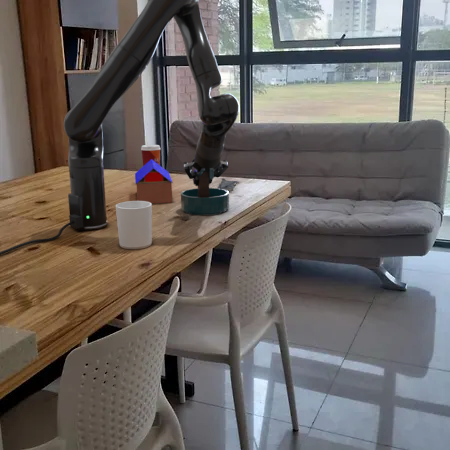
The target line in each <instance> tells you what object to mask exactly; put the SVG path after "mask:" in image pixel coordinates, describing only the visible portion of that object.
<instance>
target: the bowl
mask: <svg viewBox="0 0 450 450" xmlns="http://www.w3.org/2000/svg"><path fill="white" fill-rule="evenodd" d="M217 188H218V187H217ZM217 188H216V187H209V197H198V187H196V188H190V189H189V188H188V189H186V190H183V191H181V192H180V209H181V210H182V211H183V212H184V213H185V214H189V215H193V216H212V215H219V214H223V213H225V212H226V211H228V210H229V208H230V192H229V190H223V189H217Z"/></svg>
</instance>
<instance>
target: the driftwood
mask: <svg viewBox="0 0 450 450" xmlns="http://www.w3.org/2000/svg"><path fill="white" fill-rule="evenodd" d="M237 183H239V181H238V180H227V179H225V178H224V177H223V178H221V181H220V183H218V186H217V189H223V190H227V191H234V187H235V186H236V185H235V184H237Z"/></svg>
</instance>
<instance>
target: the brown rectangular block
mask: <svg viewBox="0 0 450 450" xmlns="http://www.w3.org/2000/svg"><path fill="white" fill-rule="evenodd" d="M197 188H198V197H209V188H210V185H209V172H203V174H202V176H200V178H199V183H198V186H197Z"/></svg>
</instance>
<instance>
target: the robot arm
mask: <svg viewBox="0 0 450 450" xmlns="http://www.w3.org/2000/svg"><path fill="white" fill-rule="evenodd" d="M172 19H174V21H175V24H177V27H178V29H179V32H180V34H181V37H182V41H183V45H184V50H185V55H186V59H187V63H188V67H189V69H190V72H191V73H190V74H191V76H192V78H193V80H194V85H195V89H196V97H197V111H198V116H199V119H200V121H201V123H202V124H201V127H200V131H199V132H200V133H199V136H198V139H197V142H196V149H195V153H194V158H193V159H191V162H188V161H184V162H183V164H182V165H183V169H184V172H185V173H186V174H187V177H188V179H189V180H192V183H193V185H194V186H195V187H198V183H199V178H200V176H202V174H203V172H209V186H210V185H211V184H212V183H213V179H214V178H220V177H221V176H222V175H223V174H224V172H226V171H227V170H228V168H229V164H228V161H227V159H223V160H222V155H223V152H224V148H225V141H226V137H227V133H228V132H229V131H230V130H231V128H232V126H233V125H234V124H235V122H236V121H237V119H238V116H239V113H240V104H239V101H238V99H237V98H236V96H234V95H233V94H231V93H222V94H219V95H215V96H211V95H210V93H211V91H212V90H214V89H215V88H217V87H218V86H220V85H221V84H222V82H223V78H222V74H221V71H220V69H219V66H218V63H217V59H216V57H215V54H214V51H213V49H212V47H211V44H210V41H209V39H208V36H207V33H206V31H205V27H204V23H203V19H202V14H201V8H200V2H199V0H148V1H147V3H146V4H145V6H144V8H143V9H142V11H141V12H140V13H139V15H138V16H137V17H136V19H135V20H134V22H133V23H132V24H131V26H130V27H129V28H128V30H127V31H126V33H125V34H124V35H123V36H122V38H121V39H120V40H119V42H118V43H117V44H116V46H115V47H114V48H113V50H112V51H111V53H110V54H109V55H108V57H107V59H106V60H105V62H104V63H103V65H102V67H101V68H100V70H99V72H98V73H97V75H96V77H95V79H94V80H93V82H92V84H91V85H90V87H89V89H88V90H87V91H86V92H85V94H84V95H82V96H81V98H80V99H79V100H78V101H77V102H76V103H75V105H74V106H73V107H72V108H71V109H70V110H69V111H67V113H66V114H65V116H64V120H63V128H64V132H65V134H66V136H67V138H68V155H67V156H68V157H67V161H68V173H69V184H70V187H69V188H70V192H69V193H68V194H67V197H68V210H69V211H68V212H69V215H68V219H69V222H68V223H66V224H64V225H63V226H62V227H61V228H60V229H59V231H58V233H57V234H56V235H54V236H52V237H48V238H40V239H32V240H29V241H24V242H21V243H20V244H17V245H14V246H11V247H9V248H6V249H4V250H2V251H0V256H2V255H4V254H6V253H9V252H11V251H14V250H16V249H19V248H22V247H24V246H27V245H30V244H35V243H44V242H51V241H54V240H57V239H58V238H60V237H61V235H62V233H63V231H64V230H65V229H66V228H68V227H70V228H73V229H75V230H78V231H81V232H83V231H94V230H99V229H103V228H107V226H108V216H107V203H106V188H105V169H104V137H103V135H104V134H103V122H104V120H105V119H106V117H107V115H108V114H109V112H110V111H111V109H112V108H113V107H114V105H115V104H116V103H117V101H118V100H119V99H120V98H122V96H123V95H125V93H127V92H128V91H129V90H130V88H131V87H132V86H133V85H134V84H135V83H136V81H137V80H138V79H139V77H141V75H142V74H143V72H144V71H145V70H146V68H147V67H148V66H149V65H150V63H151V61H152V59H153V57H154V55H155V52H156V50H157V48H158V45H159V42H160V39H161V37H162V35H163V32H164V31H165V29H166V27H167V26H168V24H169V23H170V22H171V21H172ZM193 168H194V171H193V170H192V169H193Z"/></svg>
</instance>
